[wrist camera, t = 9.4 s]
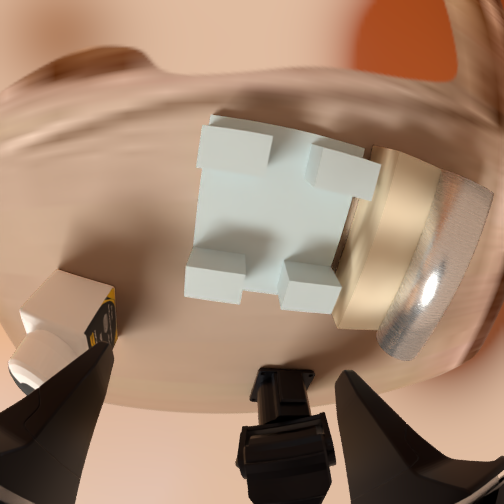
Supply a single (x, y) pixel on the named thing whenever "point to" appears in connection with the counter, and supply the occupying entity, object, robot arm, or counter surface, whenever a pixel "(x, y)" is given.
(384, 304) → the beech v-block
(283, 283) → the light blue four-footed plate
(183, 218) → the counter surface
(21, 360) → the medicine bottle
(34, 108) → the counter surface
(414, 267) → the steel axle
